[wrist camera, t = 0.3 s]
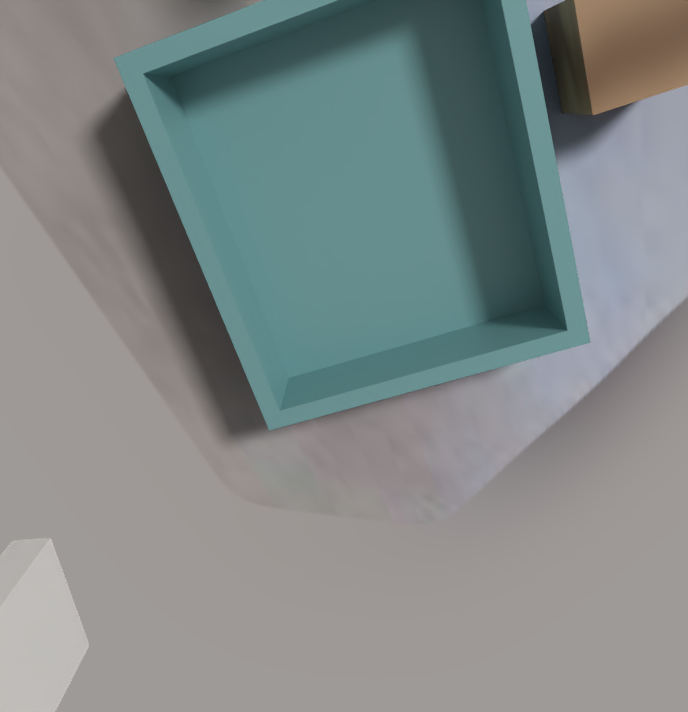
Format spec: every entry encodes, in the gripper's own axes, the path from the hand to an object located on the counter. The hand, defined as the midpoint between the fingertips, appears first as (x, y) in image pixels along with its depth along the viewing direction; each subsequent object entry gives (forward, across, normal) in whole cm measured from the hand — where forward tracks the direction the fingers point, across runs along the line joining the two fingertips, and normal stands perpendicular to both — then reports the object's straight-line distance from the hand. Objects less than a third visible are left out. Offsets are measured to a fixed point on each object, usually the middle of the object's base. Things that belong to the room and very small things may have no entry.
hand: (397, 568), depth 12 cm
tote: (+26, 0, +3) cm, 27 cm away
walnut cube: (+26, +12, +9) cm, 31 cm away
